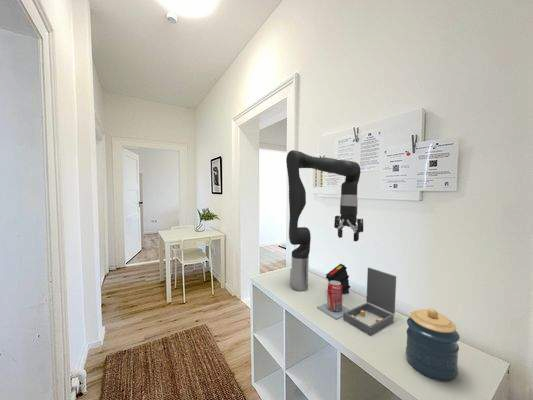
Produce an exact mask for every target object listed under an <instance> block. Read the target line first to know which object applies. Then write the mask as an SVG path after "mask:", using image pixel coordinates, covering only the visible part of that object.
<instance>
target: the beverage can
mask: <svg viewBox="0 0 533 400" xmlns="http://www.w3.org/2000/svg"><path fill="white" fill-rule="evenodd" d="M328 283H329V284H328ZM328 283H327V302H326V303H327V307H328V308H329V309H330V310H332V311H340V310H341V309H342V305H343V294H342V285H341V283H340V282H339V281H335V280H332V281H330V282H328Z"/></svg>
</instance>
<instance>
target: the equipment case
mask: <svg viewBox="0 0 533 400" xmlns="http://www.w3.org/2000/svg"><path fill="white" fill-rule="evenodd" d="M366 277H367V279H366V280H367V281H366V302H365V303H362V304H360V305H358V306H356V307H353V308H352V309H350V310H349V311H346V312H344V313H343V317H342V318H343V319H342V320H343V321H344V322H346V323H348V324H349V325H351V326H353V327H355V328H356V329H358V330H360V331H361V332H363V333H364V334H367V335H368V336H370V337H371V336H373V335H374V334H376V333H377V332H380V331H382V330H383V329H385V328H386V327H388V326H389V325H392V324H393V323H394V317H395V314H396V294H397V292H396V291H397V276H396V275H394V274H390V273H387V272H384V271H381V270H378V269H376V268H372V267H367V276H366ZM366 311H367V312H369V313H371V314H374V315H375V316H378V317H379V318H378V317H377V318H375V323H373V324H369V323H365V322H363V321H362V320H361V319H358V318H356V316H358V315H359V316H360V317H362V318H364V317H366Z"/></svg>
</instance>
